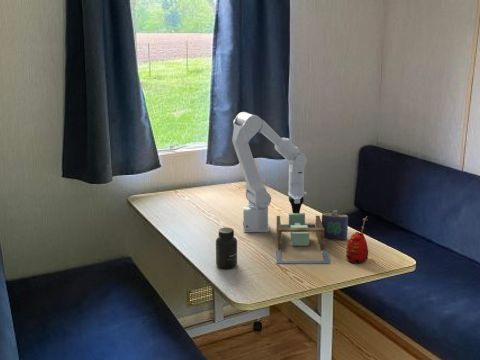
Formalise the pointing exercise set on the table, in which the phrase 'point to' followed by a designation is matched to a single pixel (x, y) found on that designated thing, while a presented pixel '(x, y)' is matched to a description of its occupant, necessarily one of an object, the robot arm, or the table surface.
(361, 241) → the red clay folk toy
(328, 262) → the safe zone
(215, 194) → the table surface
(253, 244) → the table surface
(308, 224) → the mat
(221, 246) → the supplement bottle
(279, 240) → the tunnel
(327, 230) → the flask
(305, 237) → the teal block
